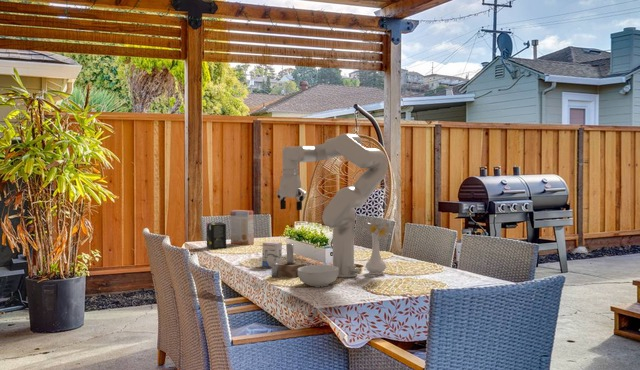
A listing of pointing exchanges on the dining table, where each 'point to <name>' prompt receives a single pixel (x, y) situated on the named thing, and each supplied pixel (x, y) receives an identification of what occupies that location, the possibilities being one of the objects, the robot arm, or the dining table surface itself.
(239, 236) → the cracker box
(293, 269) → the walnut hole block
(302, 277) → the cereal bowl
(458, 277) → the dining table surface
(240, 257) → the dining table surface
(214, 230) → the tampon box
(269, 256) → the ink box
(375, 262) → the flower vase
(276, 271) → the short steel pin
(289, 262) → the long steel pin
